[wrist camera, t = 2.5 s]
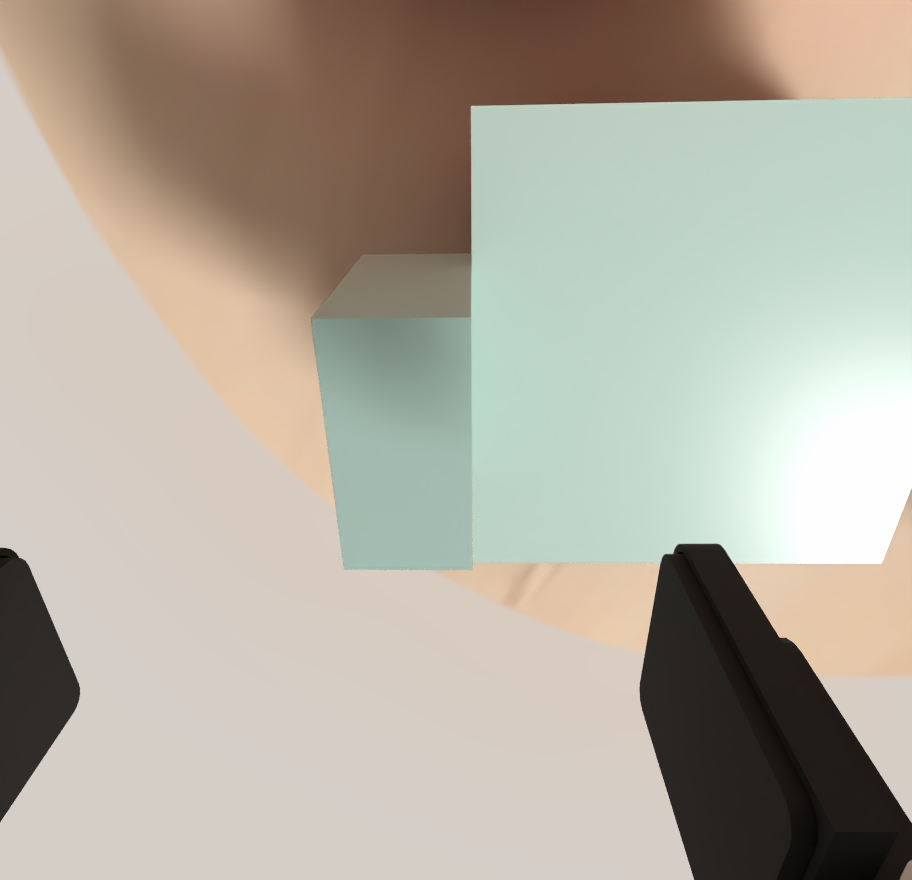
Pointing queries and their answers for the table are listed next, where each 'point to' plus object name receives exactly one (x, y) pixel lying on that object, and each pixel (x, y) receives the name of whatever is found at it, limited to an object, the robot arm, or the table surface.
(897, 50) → the table surface
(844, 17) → the table surface
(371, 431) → the mint green stepped block
